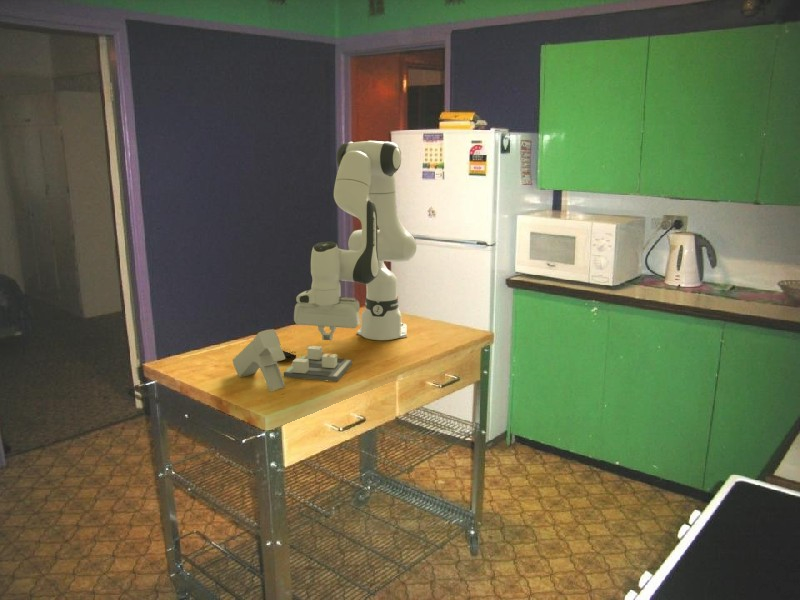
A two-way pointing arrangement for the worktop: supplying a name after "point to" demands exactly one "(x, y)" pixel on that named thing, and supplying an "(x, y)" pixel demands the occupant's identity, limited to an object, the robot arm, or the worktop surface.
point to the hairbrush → (288, 354)
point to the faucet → (262, 359)
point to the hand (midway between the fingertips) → (327, 339)
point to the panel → (320, 370)
